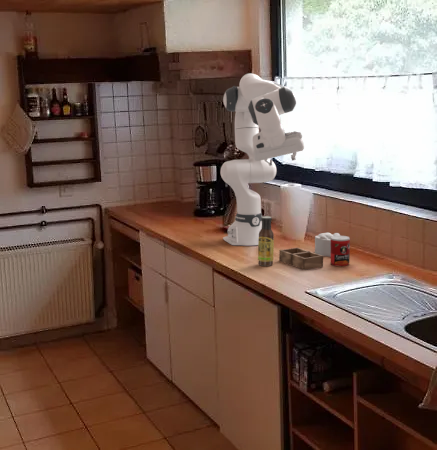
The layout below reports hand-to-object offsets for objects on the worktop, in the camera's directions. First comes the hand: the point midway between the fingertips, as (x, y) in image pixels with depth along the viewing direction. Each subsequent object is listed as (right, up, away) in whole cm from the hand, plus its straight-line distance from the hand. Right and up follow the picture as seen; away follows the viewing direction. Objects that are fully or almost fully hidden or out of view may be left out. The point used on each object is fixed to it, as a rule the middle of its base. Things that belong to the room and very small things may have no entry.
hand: (282, 161), depth 290 cm
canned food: (+24, -42, +2) cm, 48 cm away
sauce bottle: (-6, -42, +3) cm, 42 cm away
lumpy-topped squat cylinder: (+23, -38, +20) cm, 49 cm away
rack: (+8, -41, +3) cm, 42 cm away
